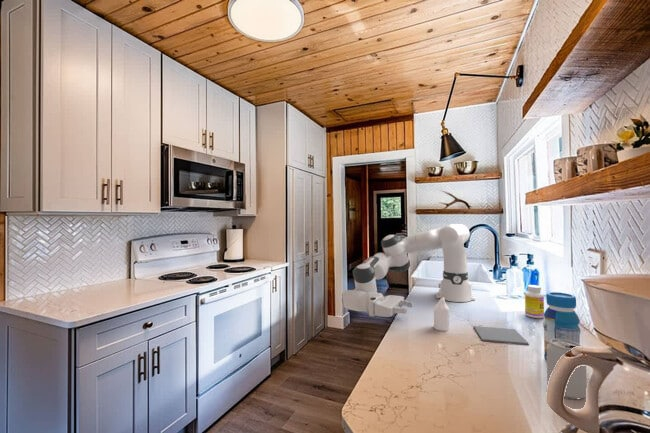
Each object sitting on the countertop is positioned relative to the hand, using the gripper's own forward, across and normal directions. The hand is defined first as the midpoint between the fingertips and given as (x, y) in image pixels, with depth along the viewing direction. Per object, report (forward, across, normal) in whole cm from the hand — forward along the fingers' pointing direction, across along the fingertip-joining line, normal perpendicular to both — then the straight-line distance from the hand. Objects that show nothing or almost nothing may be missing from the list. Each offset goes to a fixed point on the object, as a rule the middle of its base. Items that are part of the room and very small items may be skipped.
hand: (409, 307), depth 122 cm
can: (+45, +30, -6) cm, 55 cm away
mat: (+31, -2, -6) cm, 32 cm away
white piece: (+12, 0, -6) cm, 14 cm away
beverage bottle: (+47, +13, -6) cm, 49 cm away
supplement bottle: (+45, -34, -6) cm, 56 cm away
